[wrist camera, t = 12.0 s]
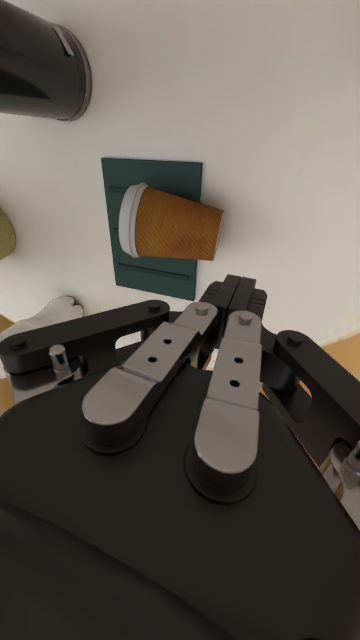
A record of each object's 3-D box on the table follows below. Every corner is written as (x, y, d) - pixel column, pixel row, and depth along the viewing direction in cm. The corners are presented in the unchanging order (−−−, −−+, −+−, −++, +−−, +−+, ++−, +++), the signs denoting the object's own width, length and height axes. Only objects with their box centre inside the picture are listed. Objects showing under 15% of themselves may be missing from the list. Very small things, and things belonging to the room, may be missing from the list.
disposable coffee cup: (230, 180, 31) (130, 163, 32) (213, 259, 30) (110, 239, 31) (223, 219, 41) (145, 206, 42) (209, 281, 40) (131, 265, 41)
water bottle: (54, 292, 58) (-75, 368, 38) (80, 292, 55) (-45, 374, 36) (66, 321, 61) (-47, 404, 42) (91, 323, 59) (-17, 413, 39)
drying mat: (117, 283, 50) (115, 285, 50) (103, 157, 39) (99, 158, 39) (194, 299, 46) (192, 302, 45) (202, 162, 35) (200, 163, 34)
